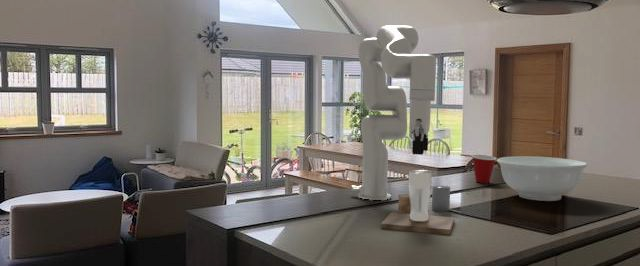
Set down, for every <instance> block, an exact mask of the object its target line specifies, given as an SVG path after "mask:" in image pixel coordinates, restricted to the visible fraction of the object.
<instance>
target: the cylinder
mask: <svg viewBox="0 0 640 266" xmlns="http://www.w3.org/2000/svg"><path fill="white" fill-rule="evenodd" d="M431 195H432V196H431V210H432V211H434V212H439V213H442V212H443V213H445V212H450V203H451V198H450V197H451V187H450V186H448V185H440V184H439V185H432V188H431Z"/></svg>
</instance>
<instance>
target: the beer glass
mask: <svg viewBox="0 0 640 266" xmlns="http://www.w3.org/2000/svg"><path fill="white" fill-rule="evenodd" d="M408 175H409V176H408V187H407V188H408V195H409V197H410V204H411V211H410V216H409V220H410V221H413V222H428V221H429V215H430V213H429V206H430V205H429V204H430V199H431V195H432V186H433V184H432V171H430V170H424V169H415V170H414V169H413V170H409V173H408Z"/></svg>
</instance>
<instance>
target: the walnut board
mask: <svg viewBox="0 0 640 266" xmlns="http://www.w3.org/2000/svg"><path fill="white" fill-rule="evenodd" d="M409 216H410V214H406V213H399V212H390V213H389V214H388V215H387V216H386V218H384V220H383V221H382V222H381V223H380V228H381V229H382V228H384V229H383V230H392V231H394V230H395V231H405V232H406V231H407V232H415V233H416V232H418V233H426V234H437V235H440V234H441V235H450V234H451V232H452V229H453V226H454V224H455V217H451V216H441V215H440V216H439V215H430V214H429V221H428V222H413V221H410V220H409Z"/></svg>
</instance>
